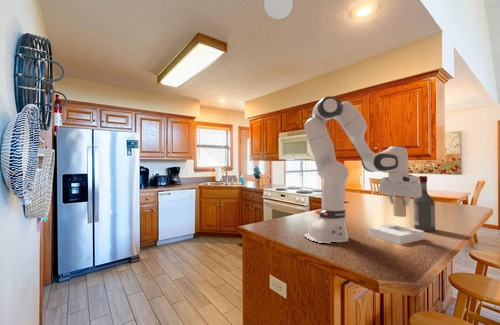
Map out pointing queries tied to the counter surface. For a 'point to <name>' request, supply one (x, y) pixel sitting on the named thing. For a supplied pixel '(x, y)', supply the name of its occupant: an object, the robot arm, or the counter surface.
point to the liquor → (424, 209)
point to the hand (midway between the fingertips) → (399, 204)
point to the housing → (397, 233)
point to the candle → (399, 206)
